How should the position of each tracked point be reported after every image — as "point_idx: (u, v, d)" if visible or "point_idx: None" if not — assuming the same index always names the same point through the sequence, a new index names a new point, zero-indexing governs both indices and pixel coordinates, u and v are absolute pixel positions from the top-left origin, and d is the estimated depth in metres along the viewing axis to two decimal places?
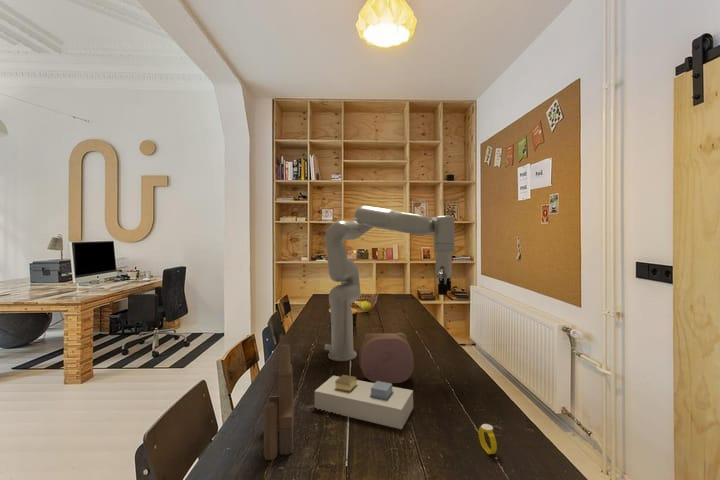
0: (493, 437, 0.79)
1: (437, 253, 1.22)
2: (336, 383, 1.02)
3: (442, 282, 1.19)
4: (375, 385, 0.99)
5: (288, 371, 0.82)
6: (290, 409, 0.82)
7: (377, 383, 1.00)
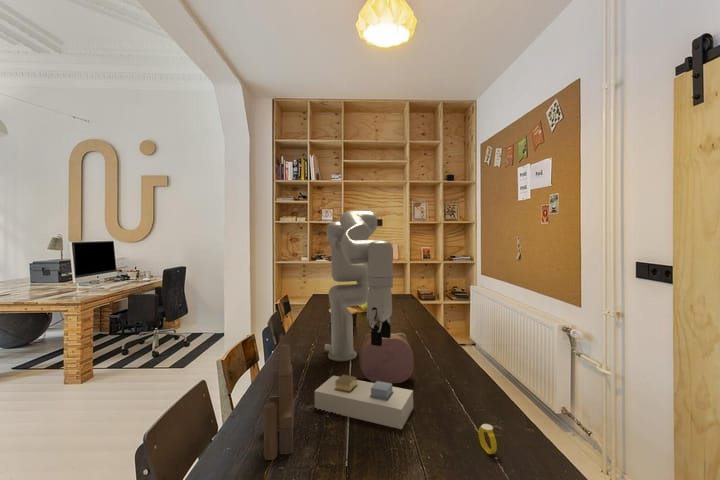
0: (493, 437, 0.79)
1: (369, 290, 0.95)
2: (336, 383, 1.02)
3: (375, 330, 0.93)
4: (375, 385, 0.99)
5: (288, 371, 0.82)
6: (290, 409, 0.82)
7: (377, 383, 1.00)
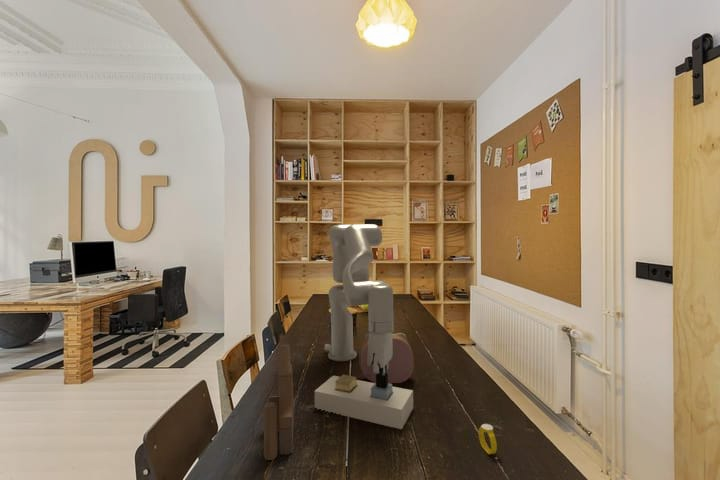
0: (493, 437, 0.79)
1: (370, 335, 0.95)
2: (336, 383, 1.02)
3: (380, 373, 0.96)
4: (375, 385, 0.99)
5: (288, 371, 0.82)
6: (290, 409, 0.82)
7: None
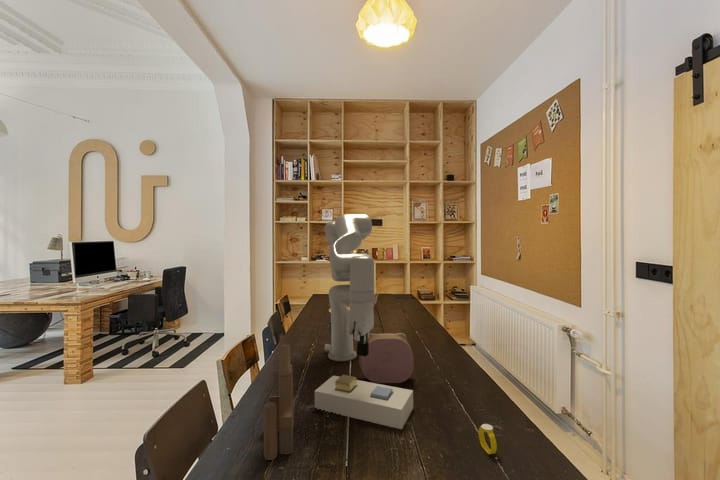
0: (493, 437, 0.79)
1: (351, 304, 0.97)
2: (336, 383, 1.02)
3: (360, 341, 0.99)
4: (375, 390, 0.99)
5: (288, 371, 0.82)
6: (290, 409, 0.82)
7: (377, 388, 1.00)
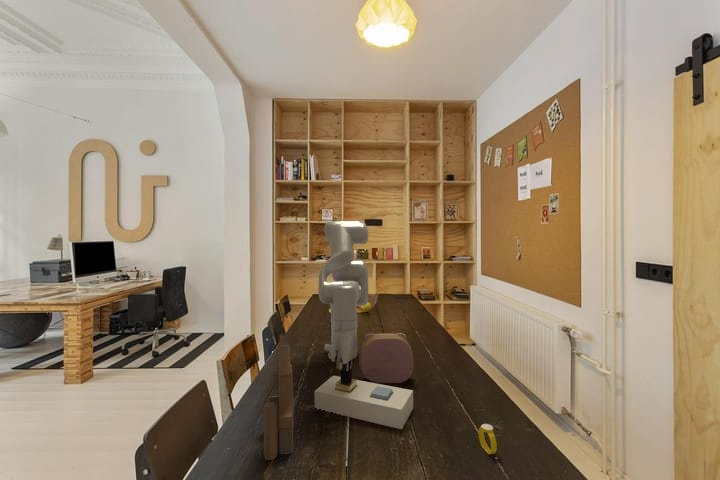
0: (493, 437, 0.79)
1: (333, 332, 1.00)
2: (336, 385, 1.02)
3: (343, 369, 1.01)
4: (375, 390, 0.99)
5: (288, 371, 0.82)
6: (290, 409, 0.82)
7: (377, 388, 1.00)
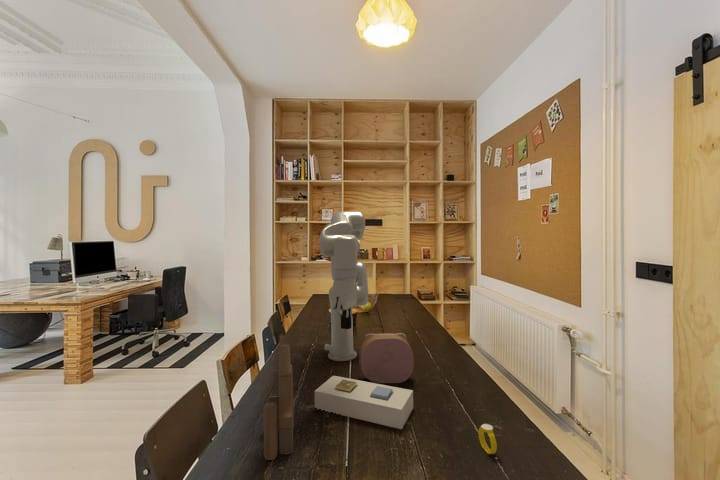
0: (493, 437, 0.79)
1: (334, 281, 1.05)
2: (336, 388, 1.02)
3: (343, 315, 1.07)
4: (375, 390, 0.99)
5: (288, 371, 0.82)
6: (290, 409, 0.82)
7: (377, 388, 1.00)
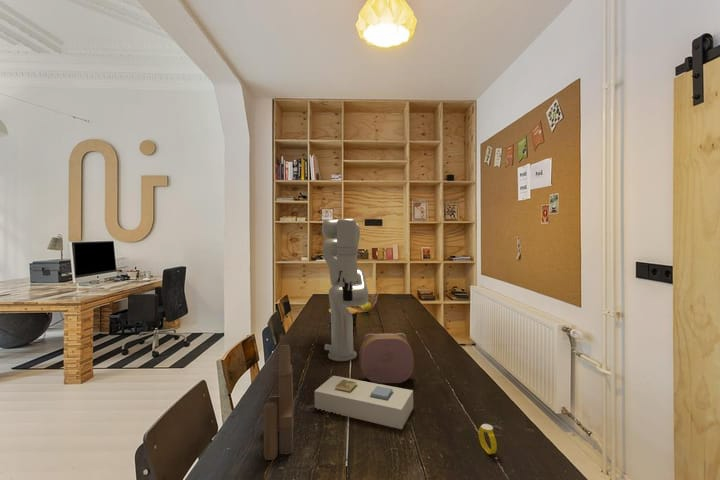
0: (493, 437, 0.79)
1: (337, 257, 1.19)
2: (336, 388, 1.02)
3: (345, 288, 1.21)
4: (375, 390, 0.99)
5: (288, 371, 0.82)
6: (290, 409, 0.82)
7: (377, 388, 1.00)
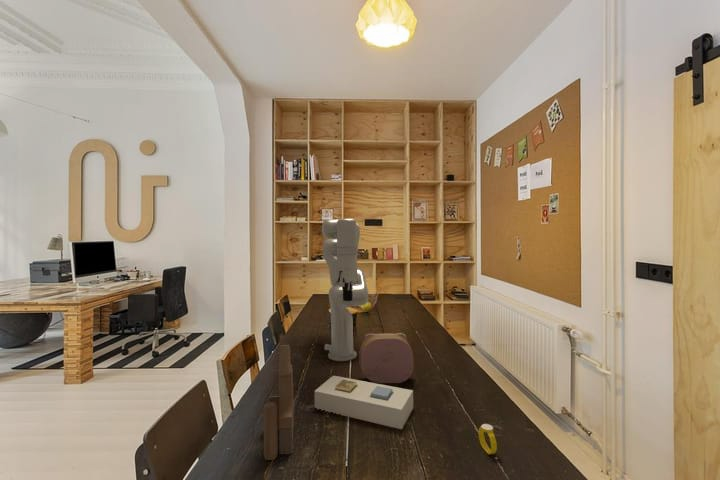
0: (493, 437, 0.79)
1: (337, 257, 1.19)
2: (336, 388, 1.02)
3: (345, 288, 1.21)
4: (375, 390, 0.99)
5: (288, 371, 0.82)
6: (290, 409, 0.82)
7: (377, 388, 1.00)
